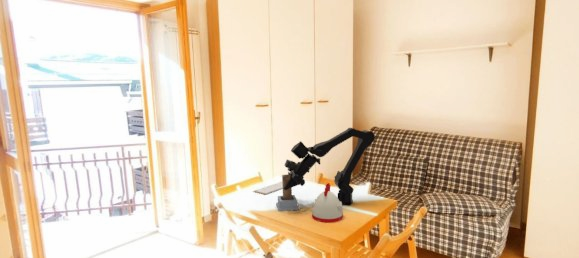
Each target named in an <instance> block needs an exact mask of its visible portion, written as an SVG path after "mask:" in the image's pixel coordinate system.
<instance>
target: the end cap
mask: <svg viewBox="0 0 579 258" xmlns="http://www.w3.org/2000/svg"><path fill="white" fill-rule="evenodd" d="M275 204H276V208H277V211H278V212H287V211H288V212H289V211H299V210H300V207H299V205H298V199H297V197H296V195H295V194H292V200H283V195H278V196H277V202H275Z"/></svg>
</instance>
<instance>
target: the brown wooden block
mask: <svg viewBox="0 0 579 258" xmlns="http://www.w3.org/2000/svg"><path fill="white" fill-rule="evenodd" d="M281 178H282V179H281V180H282V181H281V182H282V184H283V189H282V196H283V200H292V195H293V192H292V191H293V190H292V189H293V187H292V188H289V189H287V190H285V189H284V188H285V186H286V185H287V183H288V182H289V180H290V174H288V173H287V174H281Z"/></svg>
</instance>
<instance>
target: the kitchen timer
mask: <svg viewBox="0 0 579 258" xmlns="http://www.w3.org/2000/svg"><path fill="white" fill-rule="evenodd" d="M311 218H312V219H313V220H314V221H316V222H320V223H324V224H325V223H328V224H329V223H336V222H337V223H338V222H340V221H342V220H343V218H344V211H343V204H342V202H340V201H339V199H338V195H336V194H335V193H334V192H332V191H331V183H329V182H327V183H326V184H325V188H324V190H323V191H322V192H320V193H319V195H318V196H317V197H316V198H315V199H314V202H313V203H312V210H311Z"/></svg>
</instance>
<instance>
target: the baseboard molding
mask: <svg viewBox="0 0 579 258" xmlns="http://www.w3.org/2000/svg"><path fill="white" fill-rule="evenodd" d="M280 190H283V184H282V181H279V182H276V183H273V184H270V185H268V186H264V187H261V188H258V189H255V190H253V191H252V192H253V193H257V194H260V195H265V196H266V195H270V194H272V192H273V193H275V192H278V191H280Z"/></svg>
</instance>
